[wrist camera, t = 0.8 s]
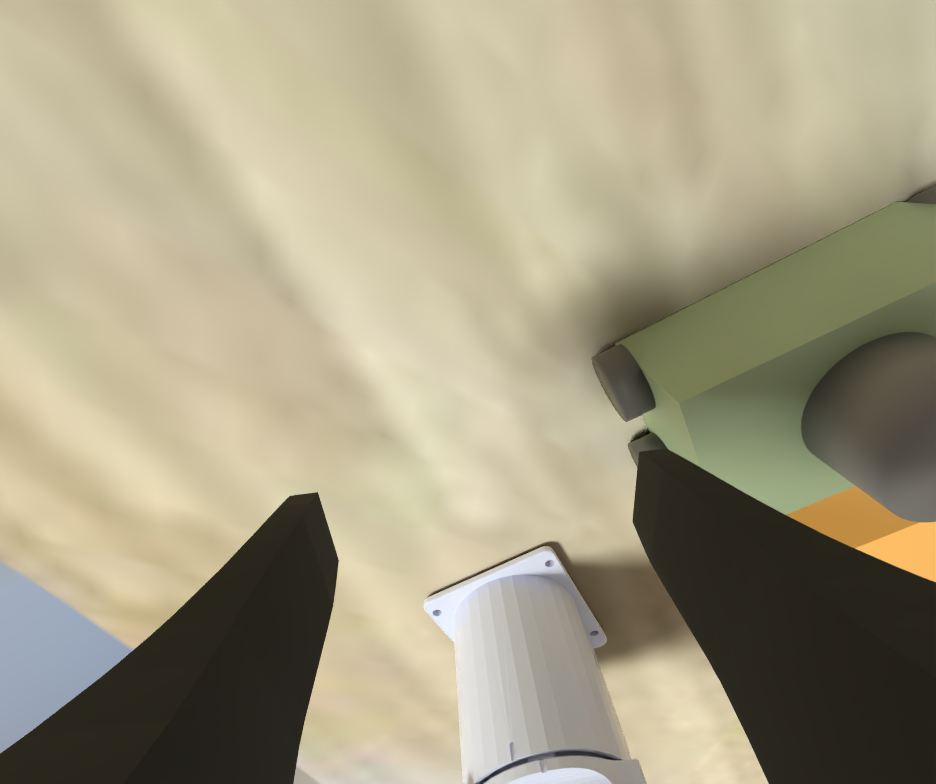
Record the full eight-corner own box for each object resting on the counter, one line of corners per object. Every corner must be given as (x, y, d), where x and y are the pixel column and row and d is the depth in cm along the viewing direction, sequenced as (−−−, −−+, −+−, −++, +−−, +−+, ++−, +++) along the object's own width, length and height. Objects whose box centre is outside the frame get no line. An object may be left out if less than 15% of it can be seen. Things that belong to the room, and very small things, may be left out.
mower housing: (933, 458, 24) (1170, 593, 16) (678, 564, 26) (783, 728, 18) (928, 173, 17) (1326, 176, 10) (584, 347, 19) (688, 462, 12)
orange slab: (867, 552, 26) (942, 617, 22) (768, 591, 27) (824, 661, 23) (854, 456, 23) (941, 514, 19) (741, 504, 24) (802, 569, 20)
